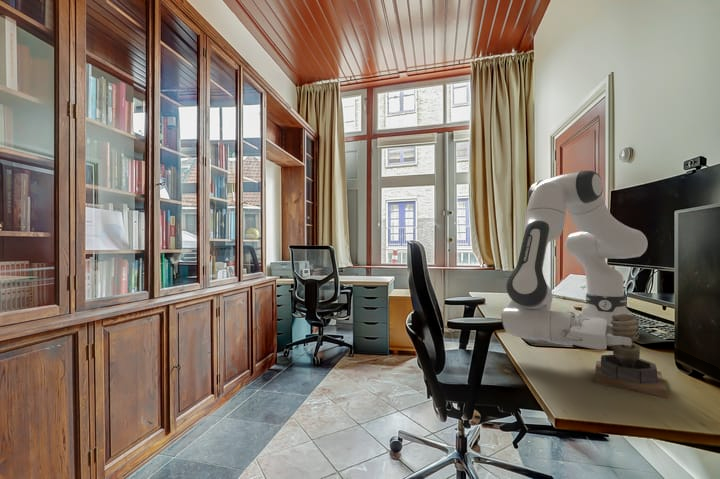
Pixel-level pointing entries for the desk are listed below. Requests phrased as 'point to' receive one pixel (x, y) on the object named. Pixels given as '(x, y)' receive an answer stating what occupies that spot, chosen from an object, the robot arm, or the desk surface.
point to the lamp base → (630, 376)
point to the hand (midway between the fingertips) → (630, 336)
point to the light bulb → (628, 327)
